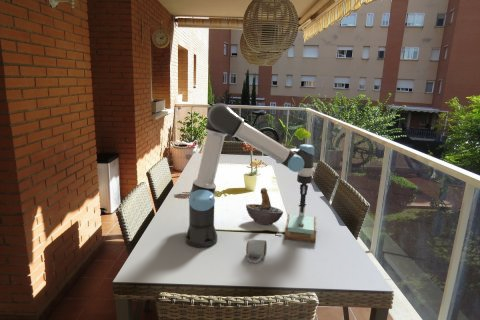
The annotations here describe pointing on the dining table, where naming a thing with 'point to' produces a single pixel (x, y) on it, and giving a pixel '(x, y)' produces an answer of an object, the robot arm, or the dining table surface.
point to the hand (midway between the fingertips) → (301, 217)
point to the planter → (264, 210)
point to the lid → (301, 224)
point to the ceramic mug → (256, 249)
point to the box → (300, 234)
